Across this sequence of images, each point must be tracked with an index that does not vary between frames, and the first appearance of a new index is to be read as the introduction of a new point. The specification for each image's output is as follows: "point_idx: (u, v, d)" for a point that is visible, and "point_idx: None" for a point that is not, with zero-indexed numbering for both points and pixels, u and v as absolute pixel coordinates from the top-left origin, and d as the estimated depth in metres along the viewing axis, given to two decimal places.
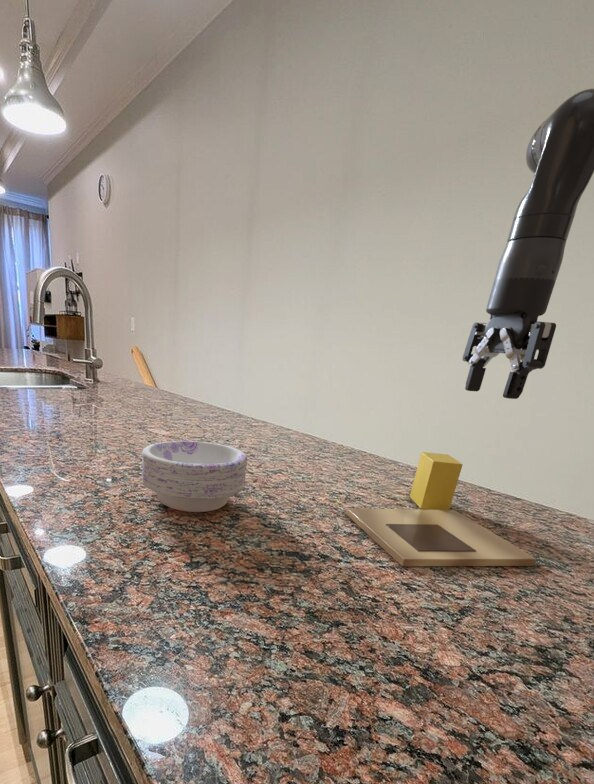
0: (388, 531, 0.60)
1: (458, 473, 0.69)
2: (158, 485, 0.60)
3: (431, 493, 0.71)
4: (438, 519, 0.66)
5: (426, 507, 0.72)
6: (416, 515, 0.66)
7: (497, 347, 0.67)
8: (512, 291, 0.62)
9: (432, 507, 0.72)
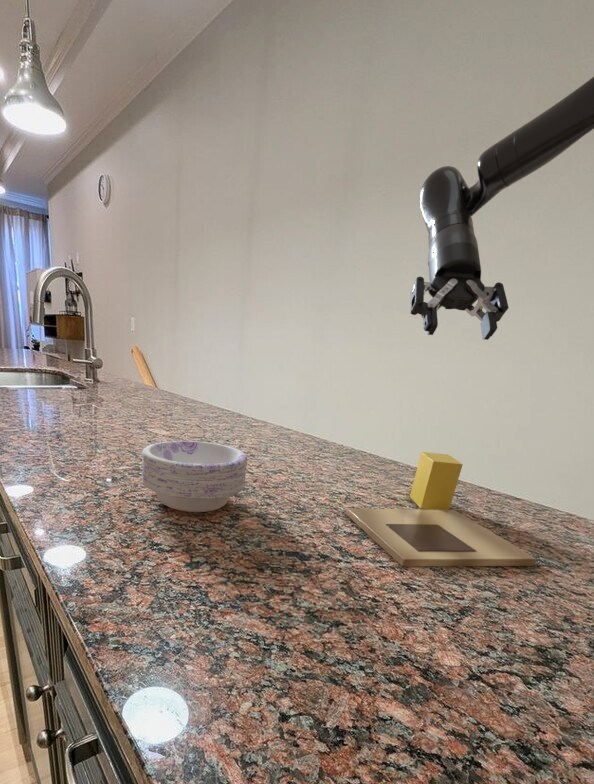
0: (388, 531, 0.60)
1: (458, 473, 0.69)
2: (158, 485, 0.60)
3: (431, 493, 0.71)
4: (438, 519, 0.66)
5: (426, 507, 0.72)
6: (416, 515, 0.66)
7: None
8: None
9: (432, 507, 0.72)
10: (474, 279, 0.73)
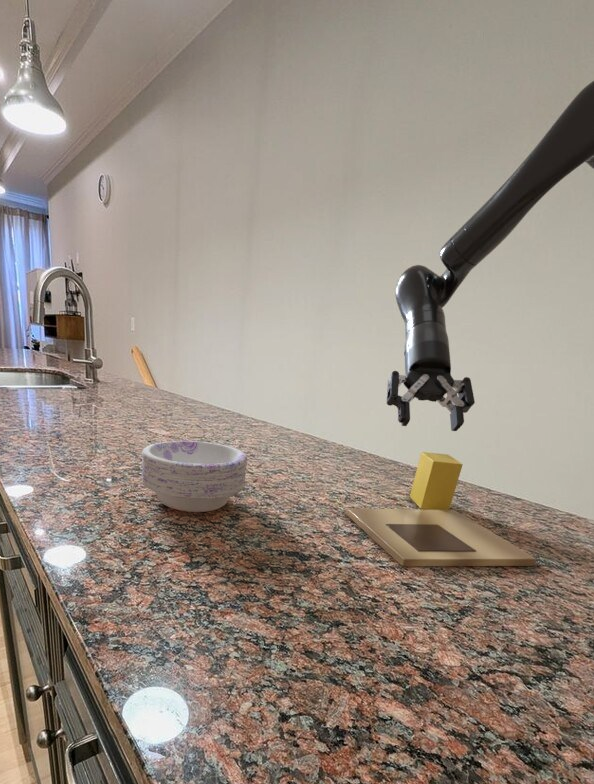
0: (388, 531, 0.60)
1: (458, 473, 0.69)
2: (158, 485, 0.60)
3: (431, 493, 0.71)
4: (438, 519, 0.66)
5: (426, 507, 0.72)
6: (416, 515, 0.66)
7: None
8: None
9: (432, 507, 0.72)
10: (444, 373, 0.80)
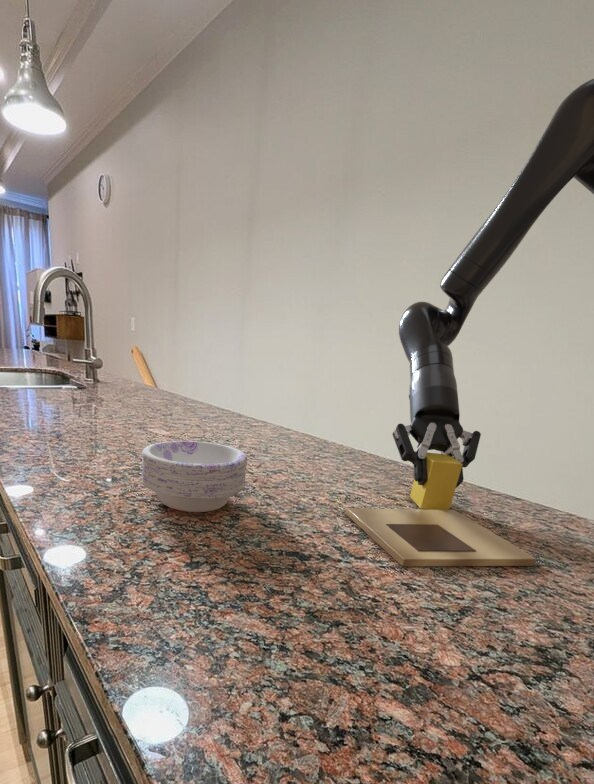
0: (388, 531, 0.60)
1: (458, 473, 0.69)
2: (158, 485, 0.60)
3: (431, 493, 0.71)
4: (438, 519, 0.66)
5: (426, 507, 0.72)
6: (416, 515, 0.66)
7: None
8: None
9: (432, 507, 0.72)
10: (453, 421, 0.75)
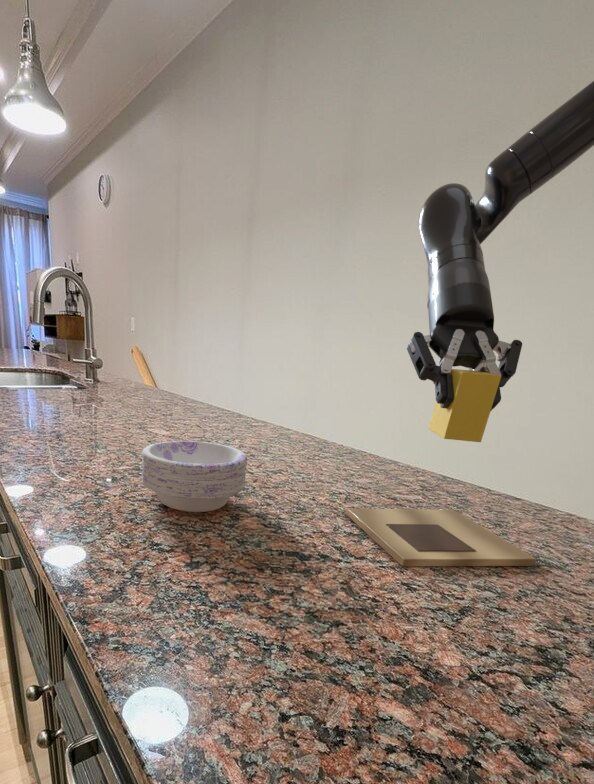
0: (388, 531, 0.60)
1: (495, 388, 0.53)
2: (158, 485, 0.60)
3: (458, 417, 0.54)
4: (438, 519, 0.66)
5: (452, 436, 0.55)
6: (416, 515, 0.66)
7: None
8: None
9: (459, 436, 0.55)
10: (485, 329, 0.58)
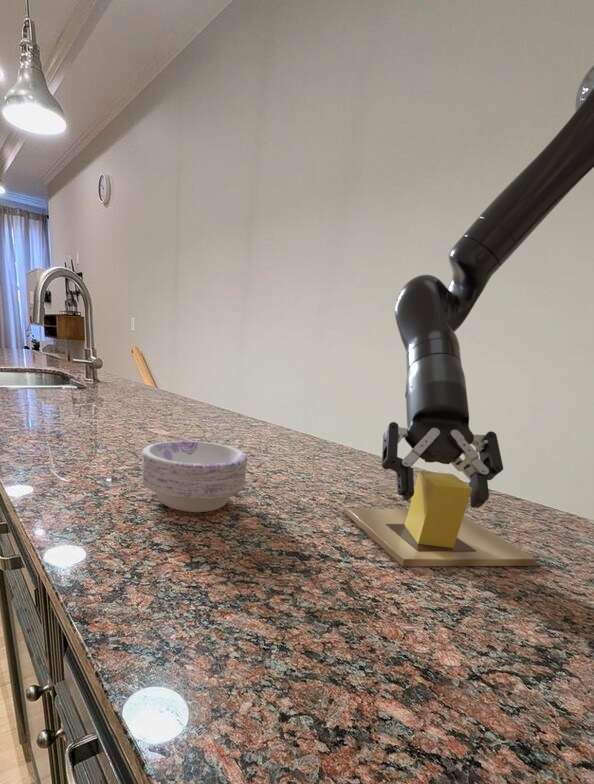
0: (388, 531, 0.60)
1: (466, 500, 0.54)
2: (158, 485, 0.60)
3: (431, 525, 0.55)
4: None
5: (425, 542, 0.56)
6: None
7: None
8: None
9: (433, 542, 0.56)
10: (461, 426, 0.59)
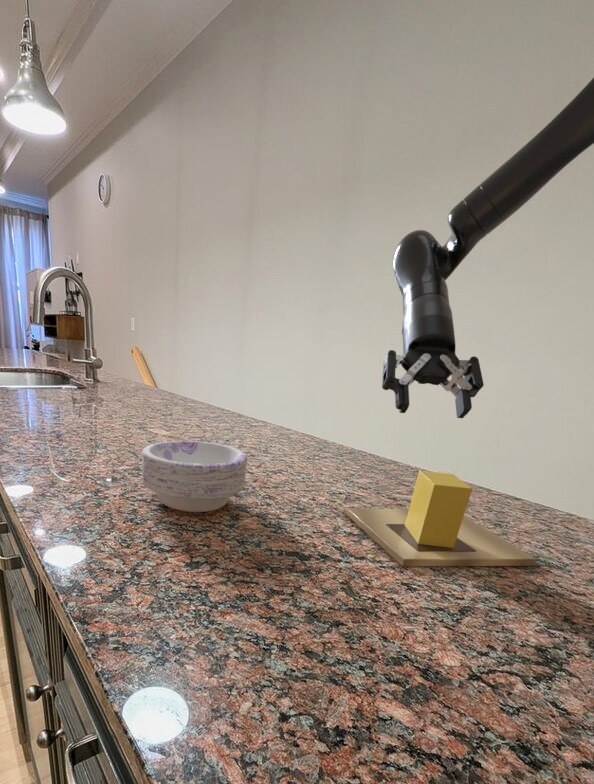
0: (388, 531, 0.60)
1: (466, 500, 0.54)
2: (158, 485, 0.60)
3: (431, 525, 0.55)
4: None
5: (425, 542, 0.56)
6: None
7: None
8: None
9: (433, 542, 0.56)
10: (448, 353, 0.70)
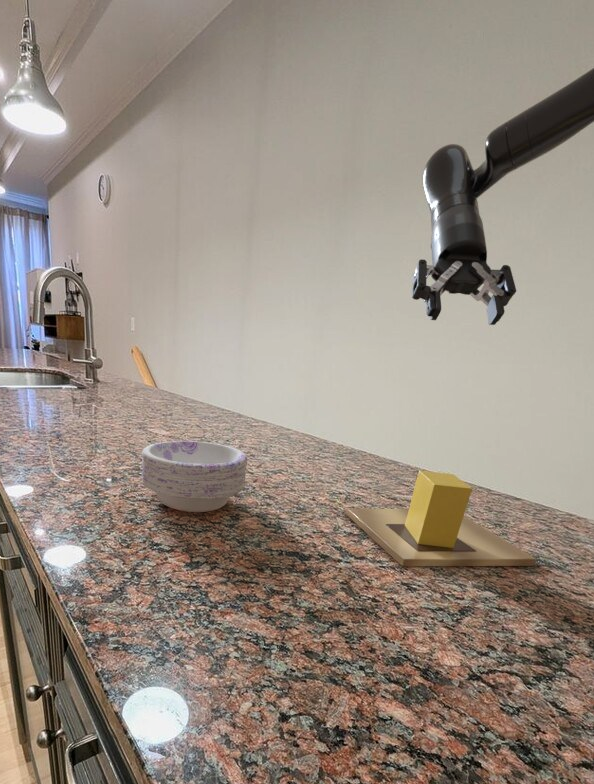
0: (388, 531, 0.60)
1: (466, 500, 0.54)
2: (158, 485, 0.60)
3: (431, 525, 0.55)
4: None
5: (425, 542, 0.56)
6: None
7: None
8: None
9: (433, 542, 0.56)
10: (479, 262, 0.69)
